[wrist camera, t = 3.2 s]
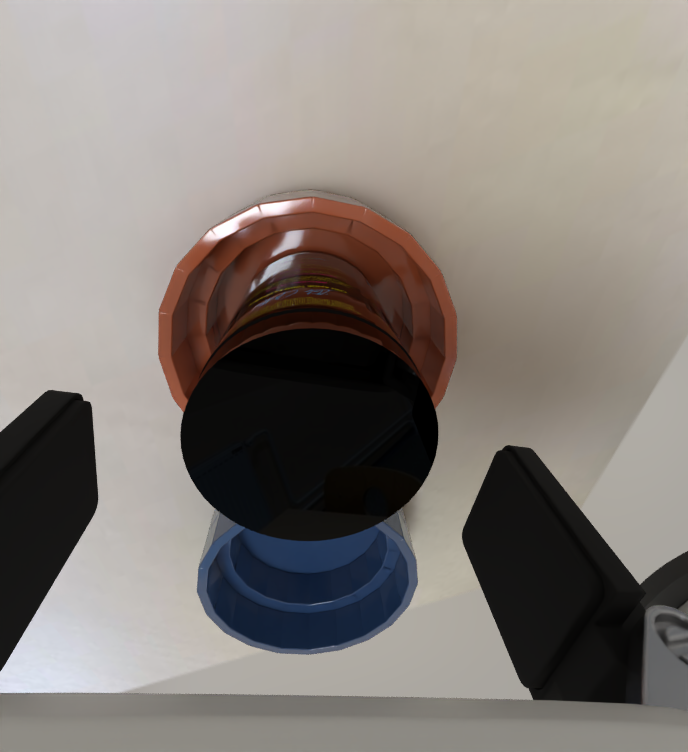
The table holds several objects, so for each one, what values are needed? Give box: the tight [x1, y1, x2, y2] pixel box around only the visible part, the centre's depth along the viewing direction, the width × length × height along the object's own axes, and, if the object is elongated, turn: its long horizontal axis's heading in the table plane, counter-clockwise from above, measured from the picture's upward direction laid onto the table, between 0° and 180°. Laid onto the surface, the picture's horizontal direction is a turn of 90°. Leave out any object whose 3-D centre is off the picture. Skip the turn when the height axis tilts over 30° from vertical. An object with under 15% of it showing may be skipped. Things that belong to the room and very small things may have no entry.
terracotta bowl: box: [158, 190, 457, 412], centre depth 19 cm, size 11×11×5 cm
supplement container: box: [181, 252, 438, 541], centre depth 16 cm, size 7×7×10 cm
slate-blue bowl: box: [197, 508, 418, 655], centre depth 24 cm, size 11×11×5 cm
